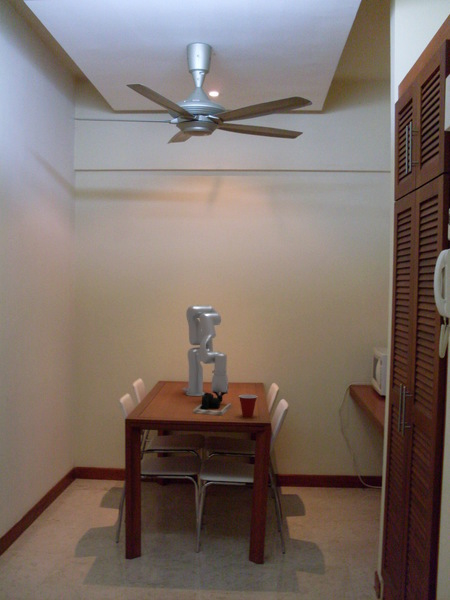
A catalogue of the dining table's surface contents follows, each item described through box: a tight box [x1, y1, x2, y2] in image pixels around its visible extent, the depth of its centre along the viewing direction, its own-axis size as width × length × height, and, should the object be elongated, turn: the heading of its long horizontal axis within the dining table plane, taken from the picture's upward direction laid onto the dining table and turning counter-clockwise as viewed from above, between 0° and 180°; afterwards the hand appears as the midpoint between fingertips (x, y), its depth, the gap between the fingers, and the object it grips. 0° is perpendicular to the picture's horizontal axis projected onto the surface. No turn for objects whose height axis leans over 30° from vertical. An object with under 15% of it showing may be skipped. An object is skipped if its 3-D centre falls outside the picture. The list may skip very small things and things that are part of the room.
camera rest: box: [192, 403, 232, 416], centre depth 324 cm, size 17×22×2 cm
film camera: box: [201, 392, 221, 410], centre depth 329 cm, size 15×10×9 cm, turn 166°
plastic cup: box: [238, 394, 258, 418], centre depth 311 cm, size 11×11×12 cm
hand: (219, 402), depth 339 cm, fingers closed
